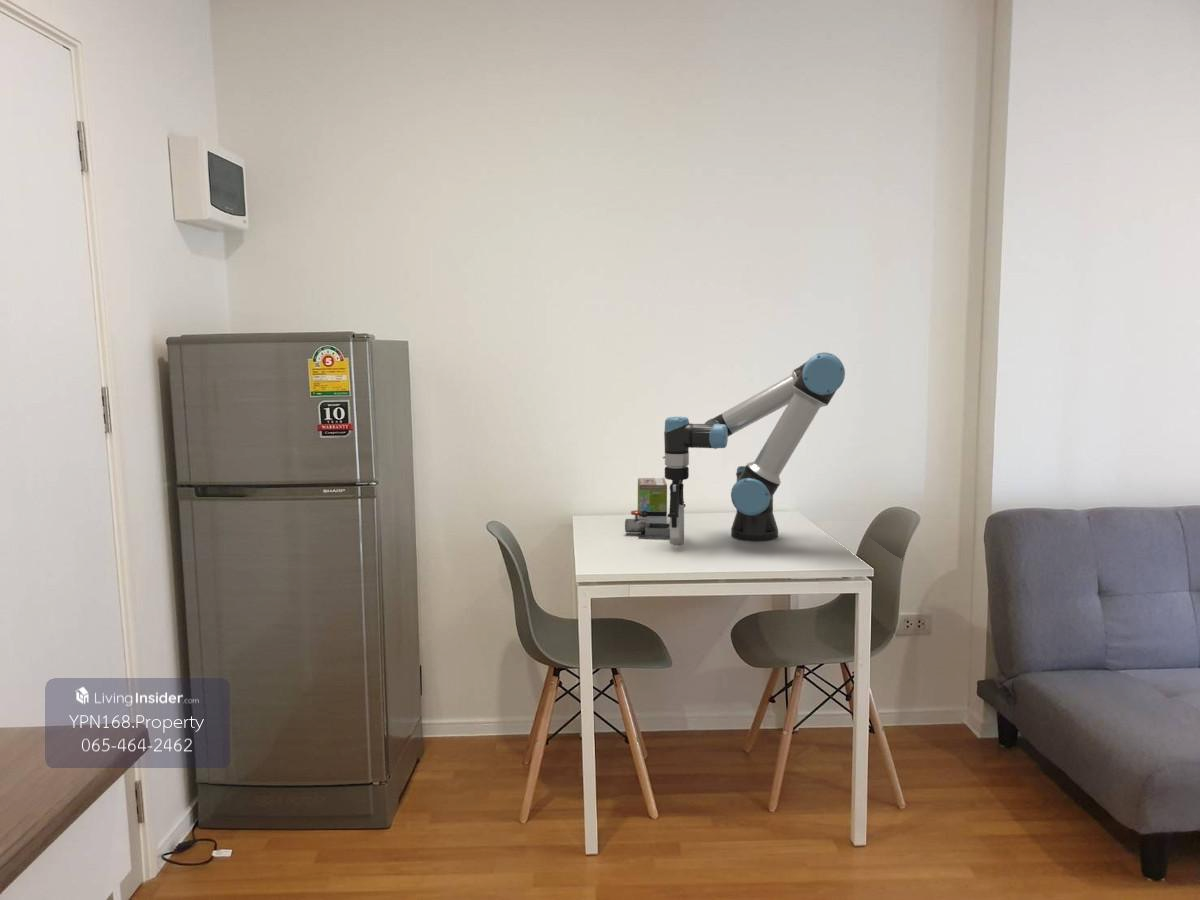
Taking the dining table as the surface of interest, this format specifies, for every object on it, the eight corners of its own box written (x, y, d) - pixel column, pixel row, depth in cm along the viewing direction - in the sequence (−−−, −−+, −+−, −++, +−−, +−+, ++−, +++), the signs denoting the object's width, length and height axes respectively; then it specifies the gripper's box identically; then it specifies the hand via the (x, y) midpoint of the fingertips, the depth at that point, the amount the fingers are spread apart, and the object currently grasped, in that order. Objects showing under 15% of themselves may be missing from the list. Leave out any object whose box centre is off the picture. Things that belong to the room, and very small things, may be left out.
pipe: (684, 541, 273) (684, 504, 272) (683, 544, 269) (683, 507, 267) (670, 540, 274) (670, 504, 272) (669, 544, 270) (668, 506, 268)
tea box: (667, 526, 295) (667, 484, 293) (638, 526, 295) (638, 484, 293) (665, 517, 310) (664, 476, 308) (637, 517, 310) (636, 477, 308)
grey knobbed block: (679, 531, 287) (679, 508, 286) (675, 539, 275) (675, 516, 274) (629, 529, 290) (628, 507, 289) (623, 538, 279) (622, 515, 278)
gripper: (669, 460, 281) (669, 523, 284) (659, 472, 257) (660, 541, 260) (692, 460, 279) (692, 524, 282) (684, 472, 255) (684, 542, 258)
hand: (676, 532), depth 271 cm, fingers open, 13 cm apart
